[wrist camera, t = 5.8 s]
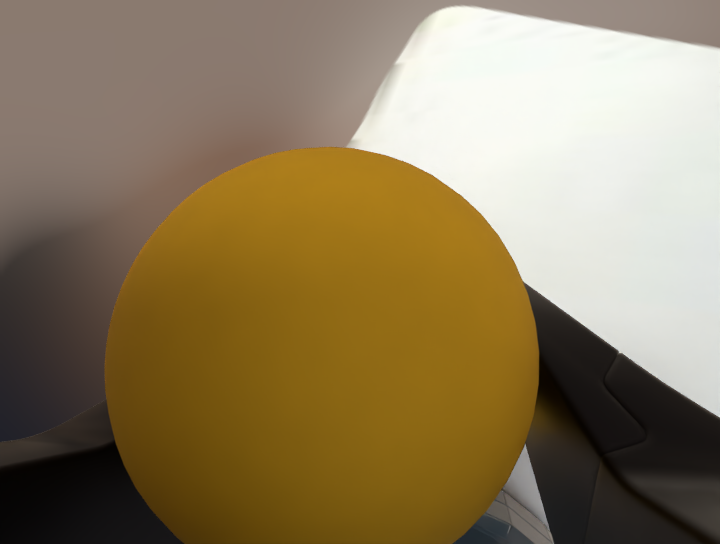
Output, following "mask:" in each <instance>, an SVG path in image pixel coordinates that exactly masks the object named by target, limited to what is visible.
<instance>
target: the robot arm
mask: <svg viewBox="0 0 720 544" xmlns="http://www.w3.org/2000/svg"><path fill="white" fill-rule="evenodd" d="M523 283H524V282H523ZM524 286H525V288H526V291H527V293H528V297H529V300H530V304H531V308H532V311H533V315H534V319H535V323H536V331H537V339H538V348H539V385H538V391H537V397H536V404H535V410H534V416H533V419H532V422H531V426H530V429H529V432H528V435H527V438H526V442H525V444H526V448H527V451H528V455H529V458H530V462H531V465H532V469H533V472H534V476H535V479H536V483H537V486H538V490H539V493H540V497H541V500H542V504H543V507H544V511H545V514H546V518H547V521H548V525H549V528H550V532H551V535H552V539H553V542H554V544H720V418H719V417H718V416H716V415H714V414H713V413H711V412H710V411H708V410H706V409H705V408H703V407H701V406H700V405H698V404H697V403H695V402H693V401H692V400H690V399H689V398H687V397H685V396H684V395H682V394H681V393H679V392H678V391H676V390H674V389H673V388H671V387H670V386H668V385H666V384H665V383H663V382H662V381H661V380H659V379H658V378H656V377H655V376H653V375H652V374H650V373H649V372H648V371H646V370H645V369H643V368H642V367H640V366H639V365H637V364H636V363H635V362H633V361H632V360H631V359H629V358H628V357H626V356H625V355H624V354H622V353H619V351H618V350H616V349H615V348H614V347H612V346H611V345H610V344H608V343H607V342H605V341H604V340H603V339H601V338H600V337H599V336H597V335H596V334H594V333H593V332H592V331H590V330H589V329H588V328H586V327H585V326H583V325H582V324H581V323H579V322H578V321H577V320H575V319H574V318H572V317H571V316H570V315H568V314H567V313H566V312H564V311H563V310H561V309H560V308H559V307H557V306H556V305H555V304H553V303H552V302H550V301H549V300H548V299H546V298H545V297H544V296H542V295H541V294H539V293H538V292H537V291H535V290H534V289H533V288H531V287H530V286H528V285H527V284H526V283H524ZM0 544H184V543H183V542H182V541H180V540H179V539H178V538H177V537H176V536H175V535H174V534H173V533H172V532H171V531H170V530H169V529H168V528H167V526H166V525H165V524H164V523H163V522H162V521H161V520H160V519H159V518H158V517H157V516H156V514H155V513H154V512H153V511H152V510H151V509H150V508H149V506H148V505H147V503H146V502H145V500H144V499H143V498H142V496H141V495H140V493H139V492H138V490H137V489H136V487H135V486H134V484H133V482H132V480H131V478H130V476H129V474H128V472H127V470H126V468H125V466H124V464H123V461H122V458H121V456H120V453H119V451H118V448H117V445H116V442H115V438H114V434H113V430H112V426H111V422H110V418H109V413H108V406H107V399H106V400H104V401H103V402H101V403H99V404H97V405H96V406H94V407H92V408H90V409H88V410H86V411H85V412H83V413H81V414H79V415H77V416H75V417H74V418H72V419H70V420H68V421H67V422H65V423H63V424H61V425H59V426H57V427H55V428H53V429H51V430H48V431H46V432H43V433H41V434H38V435H34V436H32V437H28V438H24V439H19V440H13V441H6V442H0Z"/></svg>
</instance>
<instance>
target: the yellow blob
mask: <svg viewBox="0 0 720 544" xmlns="http://www.w3.org/2000/svg"><path fill="white" fill-rule="evenodd" d="M538 385H539V348H538V339H537V331H536V323H535V319H534V315H533V311H532V308H531V304H530V300H529V297H528V293H527V291H526V288H525V286H524V283H523V281H522V279H521V276H520V274H519V272H518V269H517V267H516V265H515V262H514V260H513V259H512V257H511V255H510V254H509V252H508V250H507V249H506V247H505V245H504V244H503V242H502V240H501V239H500V237H499V236H498V234H497V233H496V232H495V231H494V229H493V228H492V227H491V226H490V224H489V223H488V222H487V221H486V219H485V218H484V217H483V216H482V215H481V214H480V213H479V212H478V211H477V210H476V209H475V208H474V207H473V206H472V205H471V204H470V203H469V202H468V201H467V200H465V199H464V198H463V197H462V196H461V195H460V194H458V193H457V192H455V191H454V190H452V189H451V188H450V187H448V186H447V185H445V184H444V183H443V182H441V181H440V180H438V179H437V178H435V177H434V176H433V175H431V174H429V173H427V172H425V171H423V170H421V169H419V168H417V167H415V166H413V165H411V164H409V163H406V162H403V161H400V160H397V159H395V158H392V157H389V156H385V155H381V154H378V153H373V152H368V151H363V150H358V149H354V148H339V147H320V148H304V149H294V150H289V151H283V152H278V153H273V154H270V155H267V156H264V157H260V158H258V159H255V160H252V161H249V162H247V163H245V164H243V165H241V166H238V167H236V168H234V169H232V170H229V171H227V172H225V173H223V174H221V175H220V176H218V177H216V178H214V179H213V180H211V181H209V182H208V183H206V184H205V185H203V186H202V187H200V188H199V189H198V190H196V191H195V192H194V193H193V194H191V195H190V196H188V197H187V198H186V199H185V200H184V201H183V202H182V203H181V204H180V205H179V206H178V207H176V208H175V209H174V210H173V211H172V212H171V213H170V215H169V216H168V217H167V218H166V219H165V220H164V221H163V223H162V224H161V225H160V226H159V227H158V228H157V229H156V230H155V232H154V233H153V234H152V235H151V237H150V238H149V240H148V241H147V242H146V244H145V245H144V246H143V248H142V249H141V251H140V253H139V254H138V256H137V258H136V259H135V261H134V263H133V264H132V266H131V268H130V270H129V272H128V274H127V277H126V279H125V281H124V283H123V285H122V288H121V290H120V293H119V296H118V298H117V301H116V304H115V307H114V311H113V315H112V318H111V322H110V326H109V332H108V339H107V344H106V356H105V391H106V398H107V406H108V413H109V418H110V422H111V426H112V430H113V434H114V438H115V442H116V445H117V448H118V451H119V453H120V456H121V458H122V461H123V464H124V466H125V468H126V470H127V472H128V474H129V476H130V478H131V480H132V482H133V484H134V486H135V487H136V489H137V490H138V492H139V493H140V495H141V496H142V498H143V499H144V500H145V502H146V503H147V505H148V506H149V508H150V509H151V510H152V511H153V512H154V513H155V514H156V516H157V517H158V518H159V519H160V520H161V521H162V522H163V523H164V524H165V525H166V526H167V528H168V529H169V530H170V531H171V532H172V533H173V534H174V535H175V536H176V537H177V538H178V539H179V540H180V541H182V542H183V543H184V544H452V543H454V542H455V541H456V540H458V539H459V538H460V537H462V536H463V535H464V534H465V533H466V532H467V531H468V530H469V529H470V528H471V527H472V526H473V525H474V524H475V523H476V521H477V520H478V519H479V518H480V517H481V516H482V515H483V514H484V513H485V512H486V511H487V510H488V508H489V507H490V505H491V504H492V502H493V501H494V500H495V498H496V497H497V495H498V494H499V492H500V491H501V489H502V488H503V486H504V485H505V484H506V482H507V480H508V478H509V477H510V475H511V472H512V470H513V468H514V466H515V464H516V462H517V460H518V458H519V456H520V454H521V452H522V450H523V448H524V445H525V442H526V438H527V435H528V432H529V429H530V426H531V422H532V419H533V416H534V410H535V404H536V397H537V391H538Z"/></svg>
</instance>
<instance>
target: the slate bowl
mask: <svg viewBox="0 0 720 544" xmlns="http://www.w3.org/2000/svg"><path fill="white" fill-rule="evenodd" d="M452 544H554V542H553V539H552V535H551V532H550V531H549V530H548V528H547V527H546V526H545V525H544V524H543V522H541V521H540V520H539V519H538V518H537V517H535V516H534V515H533V514H532V513H530V512H529V511H528V510H527V509H525V508H524V507H523V506H522V505H521V504H519V503H518V502H517V501H516V500H514V499H513V498H512V497H511V496H509V495H508V494H507V493H506V492H505V491H502V490H501V491H500V492H499V494H498V495H497V497H496V498H495V500H494V501H493V502H492V504H491V505H490V507H489V508H488V510H487V511H486V512H485V513H484V514H483V515H482V516H481V517H480V518H479V519H478V520H477V521H476V523H475V524H474V525H473V526H472V527H471V528H470V529H469V530H468V531H467V532H466V533H465V534H464V535H463V536H462V537H460V538H459V539H458V540H456V541H455V542H454V543H452Z"/></svg>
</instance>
